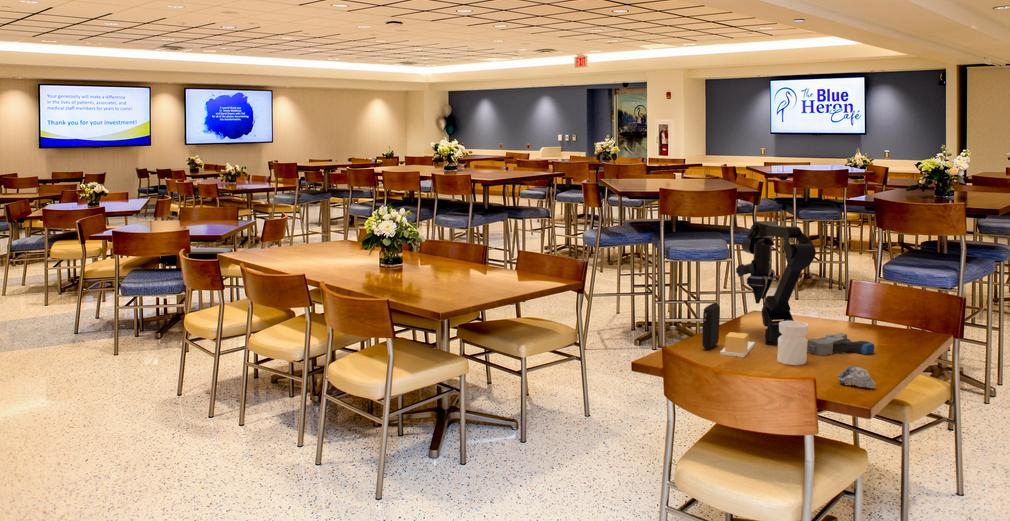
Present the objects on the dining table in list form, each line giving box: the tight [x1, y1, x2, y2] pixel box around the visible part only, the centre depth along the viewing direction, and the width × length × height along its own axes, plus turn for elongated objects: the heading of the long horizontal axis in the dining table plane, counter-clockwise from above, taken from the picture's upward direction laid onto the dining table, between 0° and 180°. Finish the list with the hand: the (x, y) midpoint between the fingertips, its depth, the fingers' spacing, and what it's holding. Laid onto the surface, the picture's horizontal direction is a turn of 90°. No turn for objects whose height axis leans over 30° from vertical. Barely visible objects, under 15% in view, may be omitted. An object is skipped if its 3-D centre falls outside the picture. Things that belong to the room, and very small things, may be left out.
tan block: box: [724, 331, 749, 353], centre depth 276 cm, size 6×6×5 cm
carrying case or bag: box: [701, 302, 721, 350], centre depth 282 cm, size 11×3×15 cm, turn 145°
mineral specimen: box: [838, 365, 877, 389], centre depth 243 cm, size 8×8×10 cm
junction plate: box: [719, 332, 756, 358], centre depth 281 cm, size 8×17×4 cm, turn 153°
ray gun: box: [807, 332, 875, 356], centre depth 278 cm, size 4×19×15 cm
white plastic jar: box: [776, 320, 809, 366], centre depth 267 cm, size 9×9×12 cm
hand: (760, 300), depth 299 cm, fingers open, 9 cm apart
